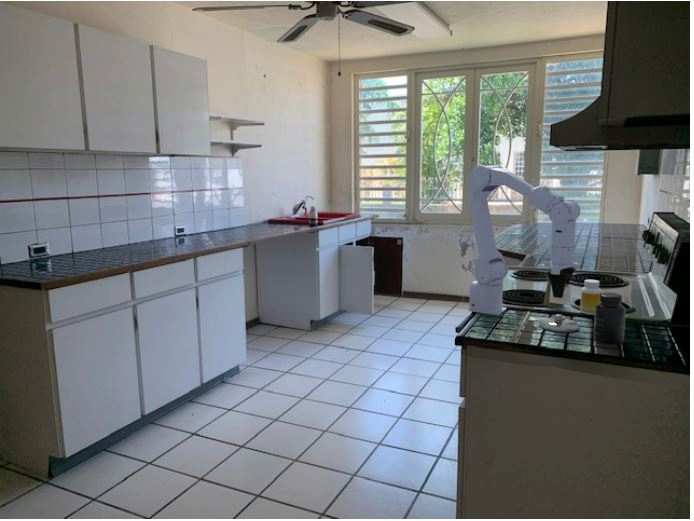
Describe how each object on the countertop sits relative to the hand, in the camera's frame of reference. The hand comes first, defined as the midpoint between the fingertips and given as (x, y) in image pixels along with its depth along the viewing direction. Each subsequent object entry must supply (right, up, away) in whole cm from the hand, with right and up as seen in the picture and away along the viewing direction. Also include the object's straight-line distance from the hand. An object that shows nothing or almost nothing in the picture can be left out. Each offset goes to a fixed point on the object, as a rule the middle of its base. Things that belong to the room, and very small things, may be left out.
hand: (559, 295), depth 136 cm
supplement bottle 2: (+8, -11, -10) cm, 17 cm away
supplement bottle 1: (+15, -6, +13) cm, 21 cm away
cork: (+7, -5, +22) cm, 24 cm away
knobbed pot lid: (0, -9, +2) cm, 9 cm away
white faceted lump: (0, -2, 0) cm, 2 cm away
